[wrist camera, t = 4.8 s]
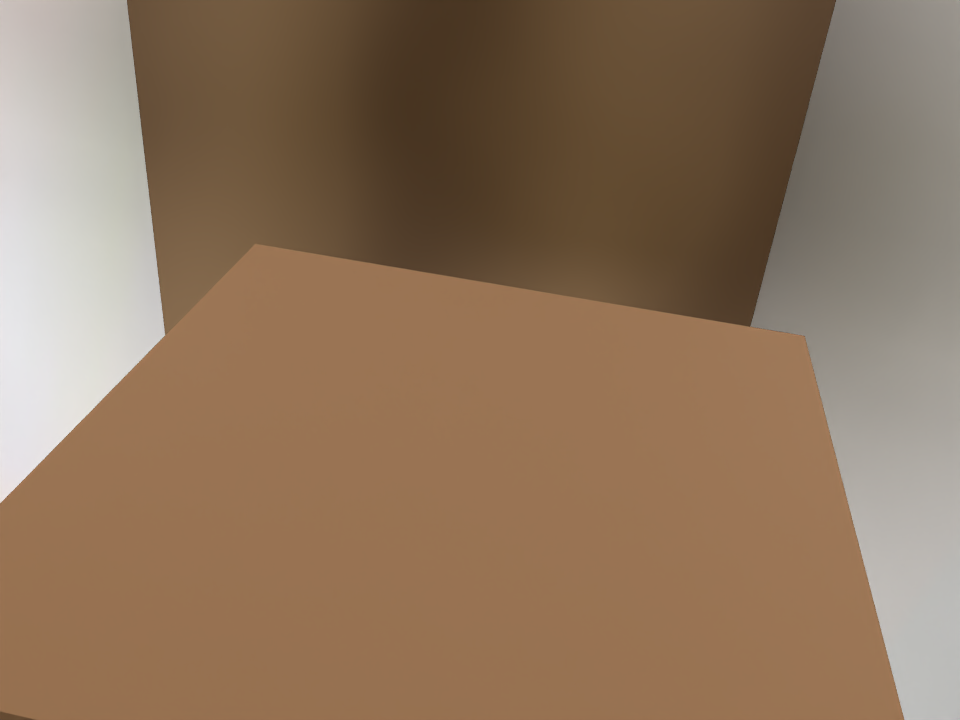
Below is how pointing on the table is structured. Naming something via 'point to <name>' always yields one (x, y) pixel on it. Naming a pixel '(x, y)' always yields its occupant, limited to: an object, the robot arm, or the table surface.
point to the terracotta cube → (441, 517)
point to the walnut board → (479, 140)
